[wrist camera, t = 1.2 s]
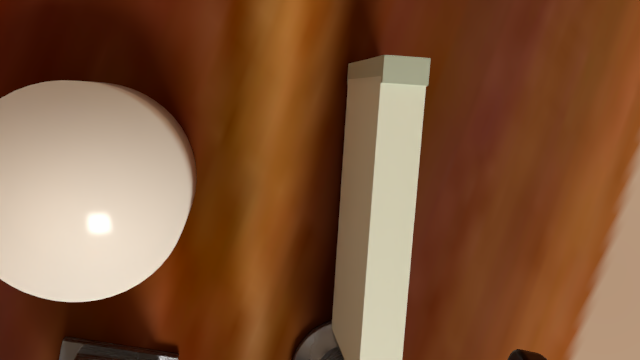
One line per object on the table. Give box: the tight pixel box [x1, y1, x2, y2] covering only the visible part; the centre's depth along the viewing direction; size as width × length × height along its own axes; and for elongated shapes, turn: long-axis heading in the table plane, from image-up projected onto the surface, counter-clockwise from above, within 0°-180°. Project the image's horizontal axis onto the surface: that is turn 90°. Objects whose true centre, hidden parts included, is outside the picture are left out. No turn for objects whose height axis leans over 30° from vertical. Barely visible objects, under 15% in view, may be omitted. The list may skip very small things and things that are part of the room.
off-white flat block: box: [332, 55, 431, 360], centre depth 20 cm, size 11×1×5 cm, turn 177°
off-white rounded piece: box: [0, 80, 197, 302], centre depth 19 cm, size 7×7×4 cm
